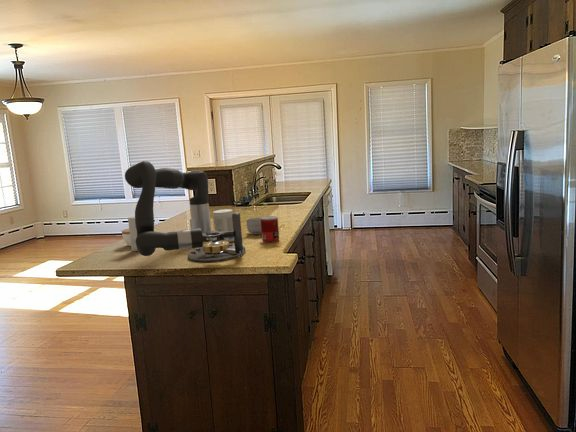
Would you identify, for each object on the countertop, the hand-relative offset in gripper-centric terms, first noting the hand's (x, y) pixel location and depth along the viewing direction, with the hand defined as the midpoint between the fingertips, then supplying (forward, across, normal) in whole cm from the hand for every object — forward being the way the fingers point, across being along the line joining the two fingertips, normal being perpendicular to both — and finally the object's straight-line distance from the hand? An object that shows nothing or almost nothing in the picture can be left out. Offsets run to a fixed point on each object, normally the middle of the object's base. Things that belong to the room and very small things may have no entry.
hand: (233, 233), depth 184 cm
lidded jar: (-41, +53, +10) cm, 67 cm away
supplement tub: (+1, +36, +10) cm, 37 cm away
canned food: (+21, +24, +10) cm, 33 cm away
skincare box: (-37, +41, +10) cm, 56 cm away
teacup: (+20, +44, +10) cm, 49 cm away
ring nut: (-3, +7, +8) cm, 11 cm away
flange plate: (-6, +11, +10) cm, 16 cm away
